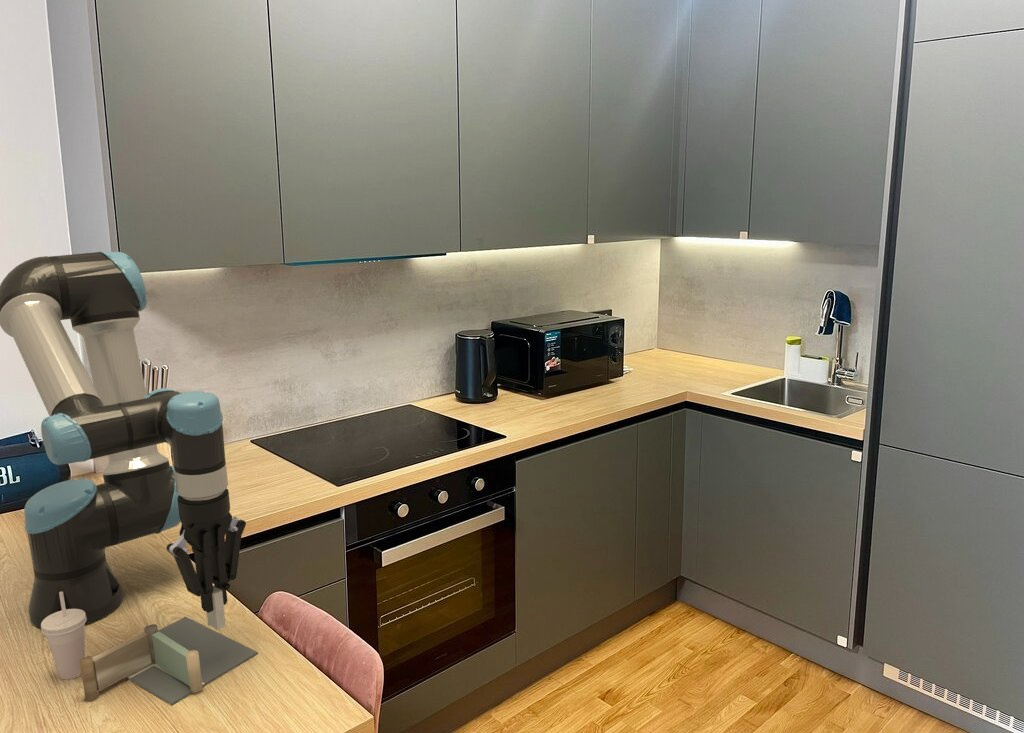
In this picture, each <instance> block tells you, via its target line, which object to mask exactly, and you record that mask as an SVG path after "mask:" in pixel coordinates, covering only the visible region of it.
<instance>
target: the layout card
mask: <svg viewBox="0 0 1024 733" xmlns="http://www.w3.org/2000/svg"><path fill="white" fill-rule="evenodd" d="M158 632H161V633H162V634H164V635H165V636H167V637H169V638H170V639H172V640H173V641H175V642H176V643H178V644H179V645H181V646H183V647H184V648H186V649H187V650H189V651H192V650H197V651H198V653H199V661H200V670H201V678H202V686H203V687H205V686H206V685H208V684H210V683H211V682H213V681H215V680H217V679H219V678H220V677H222V676H224V675H225V674H227V673H228V672H230V671H231V670H234V669H236V668H237V667H238V666H239V667H240V665H241V664H244V663H245V662H247V661H249V660H250V659H253V657H255V656H256V655H259V652H258V651H257V650H254V649H253V648H250V647H249V646H248V645H247V646H246V645H244V644H242V643H240V642H238V641H236V640H234V639H232V638H230V637H228V636H226V635H224V634H222V633H220V632H218V631H216V630H214V629H212V628H209V627H208V626H205V625H203V623H202V624H201V623H199V622H197V621H195V620H193V619H192V618H189V617H187V616H184V617H182V618H180V619H178V620H175V621H174V622H172V623H170V624H168V625H167V626H164V627H163V628H160V629H158ZM124 679H126V680H128V681H130V682H132V683H134V684H135V685H137V686H138V687H140V688H142V689H144V690H145V691H147V692H149V694H150V693H151V695H153V696H156V697H157V698H158V699H160V700H162V701H164V702H165V703H166V704H168V705H170V706H173V705H176V704H177V703H179V702H180V701H182V700H184V699H185V698H187V697H188V696H190V695H191V694H193V693H194V692H191V691H190V686H188V685H187V684H185V683H184V682H182V681H181V680H179V679H178V678H176V677H175V676H174V675H172V674H171V673H169V672H168V671H166V670H165V669H163V668H162V667H161V666H159V665H158V664H149V665H147V666H145V667H143V668H141V669H140V670H138V671H136V672H134V673H132V674H130V675H128V676H127V677H125V678H124Z"/></svg>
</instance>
